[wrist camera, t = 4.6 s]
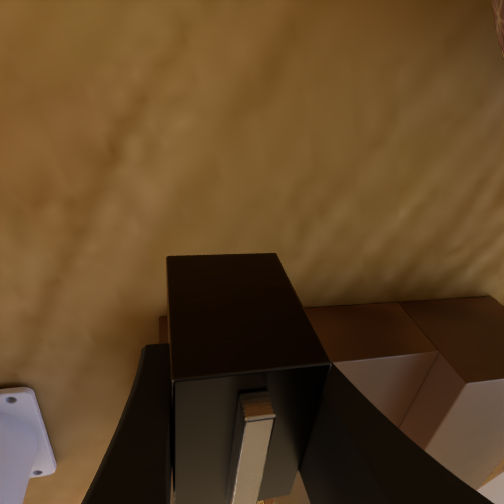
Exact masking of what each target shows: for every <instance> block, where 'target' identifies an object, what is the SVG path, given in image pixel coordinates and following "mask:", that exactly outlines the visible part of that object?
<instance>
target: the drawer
mask: <svg viewBox="0 0 504 504" xmlns="http://www.w3.org/2000/svg"><path fill="white" fill-rule="evenodd" d="M166 272H167V322H168V343H169V358H170V379H171V424H172V487H173V504H257V501H261V500H266V499H271V498H276V497H281V496H287V495H290V494H291V491H292V488H293V485H294V482H295V479H296V475H297V472H298V469H299V466H300V463H301V459H302V456H303V453H304V450H305V447H306V444H307V440H308V437H309V434H310V431H311V428H312V425H313V421H314V418H315V415H316V412H317V409H318V406H319V402H320V399H321V396H322V393H323V390H324V387H325V383H326V380H327V377H328V374H329V371H330V367H331V361H330V359H329V357H328V355H327V353H326V351H325V349H324V347H323V345H322V343H321V341H320V339H319V337H318V335H317V333H316V331H315V329H314V327H313V325H312V323H311V321H310V319H309V318H308V316H307V314H306V312H305V310H304V308H303V306H302V304H301V302H300V300H299V298H298V296H297V294H296V292H295V290H294V288H293V286H292V284H291V282H290V280H289V278H288V276H287V274H286V272H285V270H284V268H283V266H282V264H281V262H280V260H279V258H278V256H277V254H276V253H256V254H221V255H186V256H167V258H166Z"/></svg>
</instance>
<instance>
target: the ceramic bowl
mask: <svg viewBox="0 0 504 504" xmlns="http://www.w3.org/2000/svg"><path fill="white" fill-rule="evenodd" d="M492 7H493V14H494V21H495V27H496V31H497V36H498V40H499V44H500V47H501V51H502V55H503V58H504V0H492Z"/></svg>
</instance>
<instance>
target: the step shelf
mask: <svg viewBox="0 0 504 504" xmlns="http://www.w3.org/2000/svg"><path fill="white" fill-rule="evenodd" d="M304 310H305V312H306V314H307V316H308V318H309V319H310V321H311V323H312V325H313V327H314V329H315V331H316V333H317V335H318V337H319V339H320V341H321V343H322V345H323V347H324V349H325V351H326V353H327V355H328V357H329V359H330V360H331V361H332V362H333V363H334V365H335V366H336V367H337V368H338V369H339V370H340V371H341V372H342V373H343V374H344V375H345V376H346V377H347V378H348V379H349V380H350V382H351V383H352V384H353V385H354V386H355V387H356V388H357V389H358V390H359V391H360V392H361V393H362V394H363V395H364V396H365V397H366V398H367V399H368V400H369V401H370V402H371V403H372V404H373V405H374V406H375V407H376V408H377V409H378V410H379V411H381V412H382V413H383V414H384V415H385V416H386V417H387V418H388V419H389V420H390V421H391V422H392V423H393V424H394V425H396V426H397V427H398V428H399V429H400V430H401V431H402V432H403V433H404V434H406V435H407V436H408V437H409V438H410V439H411V440H412V441H414V442H415V443H416V444H417V445H418V446H420V447H421V448H422V449H423V450H424V451H426V452H427V453H428V454H429V455H430V456H432V457H433V458H434V459H435V460H437V461H438V462H439V463H440V464H441V465H443V466H444V467H445V468H446V469H448V470H449V471H450V472H452V473H453V474H454V475H456V476H457V477H458V478H459V479H461V480H462V481H464V482H465V483H466V484H468V485H469V486H470V487H472V488H473V489H475V490H476V491H477V489H478V488H479V487H480V486H481V485H482V483H483V482H484V481H485V480H486V479H487V478H488V476H489V475H490V474H491V473H492V472H493V470H494V469H495V468H496V467H497V466H498V464H499V463H500V462H501V461H502V460H503V458H504V306H503V305H502V304H500V303H499V302H498V301H497V300H496V299H495V298H493V297H492V296H488V297H473V298H457V299H441V300H425V301H409V302H398V303H397V302H395V303H379V304H363V305H347V306H331V307H316V308H304ZM164 343H168V322H167V317H160V318H159V344H164ZM170 504H173V487H172V478H171V499H170ZM264 504H310V501H309V498H308V495H307V492H306V490H305V487H304V484H303V481H302V478H301V475H300V473H299V470H298V472H297V475H296V479H295V482H294V485H293V488H292V491H291V494H290V495H287V496H281V497H276V498H271V499H266V500H264Z"/></svg>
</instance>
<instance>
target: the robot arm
mask: <svg viewBox="0 0 504 504" xmlns="http://www.w3.org/2000/svg"><path fill="white" fill-rule="evenodd" d="M330 361H331V360H330ZM56 465H57V464H56V461H55V458H54V454H53V451H52V448H51V445H50V442H49V438H48V435H47V432H46V429H45V425H44V422H43V419H42V416H41V413H40V409H39V406H38V403H37V400H36V396H35V393H34V391H33V390H32V389H30V388H28V387H16V388H6V389H0V504H23V500H24V496H25V493H26V489H27V485H28V482H29V478H33V477H40V476H47V475H51V474H53V473H54V472H55V470H56ZM298 470H299V473H300V475H301V478H302V481H303V484H304V487H305V490H306V492H307V495H308V498H309V501H310V504H494V503H492V502H491V501H490V500H488V499H487V498H486V497H484V496H483V495H481V494H480V493H479V492H477V491H476V490H475V489H473V488H472V487H470V486H469V485H468V484H466V483H465V482H464V481H462V480H461V479H459V478H458V477H457V476H456V475H454V474H453V473H452V472H450V471H449V470H448V469H446V468H445V467H444V466H443V465H441V464H440V463H439V462H438V461H437V460H435V459H434V458H433V457H432V456H430V455H429V454H428V453H427V452H426V451H424V450H423V449H422V448H421V447H420V446H418V445H417V444H416V443H415V442H414V441H412V440H411V439H410V438H409V437H408V436H407V435H406V434H404V433H403V432H402V431H401V430H400V429H399V428H398V427H397V426H396V425H394V424H393V423H392V422H391V421H390V420H389V419H388V418H387V417H386V416H385V415H384V414H383V413H382V412H381V411H379V410H378V409H377V408H376V407H375V406H374V405H373V404H372V403H371V402H370V401H369V400H368V399H367V398H366V397H365V396H364V395H363V394H362V393H361V392H360V391H359V390H358V389H357V388H356V387H355V386H354V385H353V384H352V383H351V382H350V380H349V379H348V378H347V377H346V376H345V375H344V374H343V373H342V372H341V371H340V370H339V369H338V368H337V367H336V366H335V365H334V363H333V362H332V361H331V367H330V371H329V374H328V377H327V380H326V383H325V387H324V390H323V393H322V396H321V399H320V402H319V406H318V409H317V412H316V415H315V418H314V421H313V425H312V428H311V431H310V434H309V437H308V440H307V444H306V447H305V450H304V453H303V456H302V459H301V463H300V466H299V469H298ZM171 478H172V424H171V379H170V358H169V343H164V344H152V345H146V346H144V347H143V348H142V350H141V356H140V361H139V365H138V369H137V373H136V376H135V380H134V383H133V386H132V389H131V392H130V395H129V397H128V400H127V403H126V405H125V408H124V410H123V413H122V416H121V418H120V421H119V423H118V426H117V428H116V431H115V433H114V435H113V438H112V440H111V442H110V444H109V447H108V449H107V451H106V453H105V455H104V458H103V460H102V462H101V464H100V466H99V469H98V471H97V473H96V475H95V477H94V479H93V481H92V483H91V485H90V487H89V489H88V491H87V493H86V495H85V497H84V499H83V501H82V503H81V504H170V499H171Z"/></svg>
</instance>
